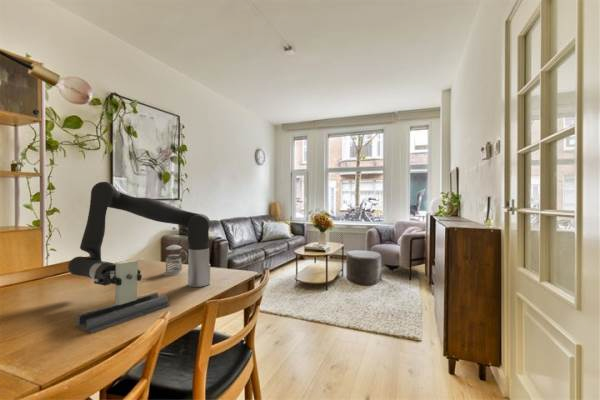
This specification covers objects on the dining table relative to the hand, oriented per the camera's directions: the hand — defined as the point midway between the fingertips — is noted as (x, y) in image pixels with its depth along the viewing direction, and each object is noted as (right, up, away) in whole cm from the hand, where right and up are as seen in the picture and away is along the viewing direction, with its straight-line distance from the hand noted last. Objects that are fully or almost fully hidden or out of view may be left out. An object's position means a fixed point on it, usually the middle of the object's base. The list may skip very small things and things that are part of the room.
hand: (130, 279), depth 96 cm
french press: (-10, -13, +57) cm, 59 cm away
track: (-2, -13, +1) cm, 13 cm away
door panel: (-2, -8, +1) cm, 8 cm away
